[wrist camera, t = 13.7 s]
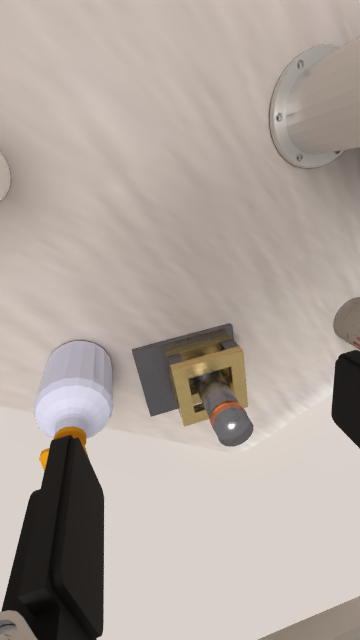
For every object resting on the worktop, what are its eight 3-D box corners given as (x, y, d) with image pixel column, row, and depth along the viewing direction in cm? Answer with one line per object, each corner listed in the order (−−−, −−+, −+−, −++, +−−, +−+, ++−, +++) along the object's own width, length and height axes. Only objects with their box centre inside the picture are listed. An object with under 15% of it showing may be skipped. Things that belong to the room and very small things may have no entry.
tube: (214, 353, 47) (252, 412, 35) (217, 376, 49) (254, 440, 37) (186, 361, 47) (215, 424, 34) (190, 384, 49) (219, 451, 36)
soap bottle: (104, 333, 43) (103, 485, 21) (116, 384, 47) (125, 555, 25) (40, 345, 41) (-33, 521, 19) (57, 396, 45) (12, 591, 23)
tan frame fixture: (230, 323, 47) (247, 342, 41) (236, 386, 53) (252, 411, 47) (132, 349, 45) (135, 373, 39) (150, 412, 50) (155, 441, 45)
